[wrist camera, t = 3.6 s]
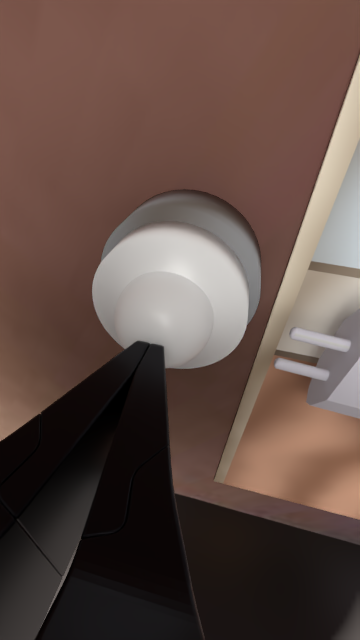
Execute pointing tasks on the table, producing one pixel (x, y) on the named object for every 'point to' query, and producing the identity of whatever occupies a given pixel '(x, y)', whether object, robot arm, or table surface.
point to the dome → (174, 293)
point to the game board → (290, 311)
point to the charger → (331, 367)
